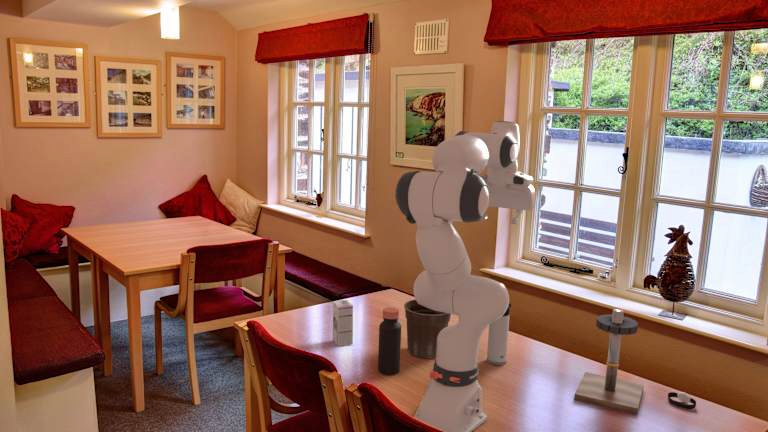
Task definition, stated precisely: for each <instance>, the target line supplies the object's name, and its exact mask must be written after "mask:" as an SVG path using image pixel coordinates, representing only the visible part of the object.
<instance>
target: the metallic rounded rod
mask: <svg viewBox="0 0 768 432" xmlns="http://www.w3.org/2000/svg"><path fill="white" fill-rule="evenodd" d="M624 313H625V311H624V310H622V309H617V308H614V309H613V310H612V322H614V323H623V316H625V315H624ZM621 340H622V335H620V334H613V333H609V343H608V351H607V353H608V354H607V360H606V371H605V376H606V379H605V390H607V391H615V389H616V380H617V379H618V368H619V366H620V361H619V360H620V351H621V342H622V341H621Z"/></svg>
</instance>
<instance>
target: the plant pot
mask: <svg viewBox="0 0 768 432" xmlns="http://www.w3.org/2000/svg"><path fill="white" fill-rule="evenodd" d="M403 308H404V310H405V311H404V312H405V313H404V315H405V319H406V337H407V338H406V341H407V343H406V344H407V345H406V346H407V351H408V353H409V354H410V355H411V356H413V357H415V358H419V359H430V358H432V359H436V348H437V337H438V334H439V333H440V331H441V330H442V329H444V328H445V327H448V326H449V322H450V321H451V315H452V314H449V313H444V312H439V311H434V310H431V309H429V308H426V307H424V306H422V305H420V304H418V303H417V301H416V299H415V298H414V299H411V300H409V301H406V302H404V304H403Z"/></svg>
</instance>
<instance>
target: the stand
mask: <svg viewBox="0 0 768 432" xmlns="http://www.w3.org/2000/svg"><path fill="white" fill-rule="evenodd" d="M605 379H606V375H601V374H595V373H592V372H587V371H585V372H584V374H583V376H582V378H581V380H580V382H579V384H578V386H577V388H576V390H575V392H574V394H573V395H574V396H573V401H576V402H580V403H585V404H588V405H593V406H596V407H602V408H606V409H610V410H614V411H618V412H621V411H623V412H622V413H627V414H631V415H635V416H637V415H638V413H639V408H640V404H641V401H642V397H643V393H644V388H645V384H642V383H637V382H634V381H628V380H625V379H619V378H617V380H616V389H615V391H607V390H605Z"/></svg>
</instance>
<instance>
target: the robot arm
mask: <svg viewBox="0 0 768 432" xmlns="http://www.w3.org/2000/svg"><path fill="white" fill-rule="evenodd" d="M519 154H520V127H519V125H518V124H517V123H516V122H513V121H505V120H498V121H494V122H493V123H492V125H491V131H490V132H489V133H488V132H486V133H485V132H473V131H465V130H460V131H458V132H457V133H456V134H455V135H453V136H450V137H449V138H446V139H445V140H443V141H441V142H440V143H439V144H438V145H436V147H435V148H434V150H433V152H432V157H431V164H432V167H433V170H435V171H419V170H414V171H408V172H405V173H403V174H402V175H401V176H400V177H399V179H398V181H397V183H396V187H395V195H394V196H395V202H396V205H397V206H398V208H399V210H400V212H401V214H403V215H404V216H405V219H406V221H407V222H408V223H409V224H411V225H414V224H417V231H416V233H415V243H416V250H417V254H418V256H419V259H420V262H421V264H422V266H423V268H424V270H422V272H421V273H419V274H418V276H417V277H416V279H415V281H414V283H413V291H412V292H413V295H414V300H415V299H416V301H417V303H418V304H420V305H422V306H424V307H426V308H429V309H431V310H434V311H439V312H444V313H449V314H451V315H453V316H454V315H455V316H457V317H458V322H457V323H454V324H450V325H448V327H445V328H444V329H442V330H441V331H440V333H439V334H438V337H437V348H436V358H435V359H434V363H433V365H432V370H430V372H429V378H430V380H429V382H428V384H427V387H426V390H425V391H424V395H423V398H422V400H421V401H420V404H419V405H418V407H417V410H416V412H415V413H414V415H413V417H415V418H417V419H419V420H421V421H422V422H424V423H427V424H429V425H431V426H434V427H436V428H438V429H441V430H443V431H445V432H473V431H475V430H476V429H477V428H479V427H480V426H481V425H483V424H484V423H485V422H486V421H487V420H488V416H487V414H486V413H485V412H483V388H482V386H481V385H480V383H479V381H478V378H479V372H480V371H479V370H480V369H479V364H478V355H479V348H480V342H481V338H482V335H483V334H484V332H485V330H486V329H487V327H489V325H490V324H491V323H492V322H494V321H495V320H498V319H499V318H501V317H502V316H503V315H504V313H505V312H506V310H507V308H508V305H509V303H510V294H509V292H508V289H507V287H506V285H505V284H504V283H502V282H500V281H497V280H495V279H492V278H489V277H486V276H481V275H479V276H478V275H475V274H474V275H473V274H471V272H472V262H471V260H470V257H469V254H468V252H467V249H466V246H465V244H464V242H463V239H462V238H461V236H460V234H459V233H458V231H457V229H456V228H455V227H454V225H453V222H463V223H474V222H475V223H476V222H480V221H487V220H488V217H489V215H488V213H487V211H488V210H487V209H488V208H489V207H490V208H491V207H492V208H501V209H510V210H515V213H516V214H515V216H514V217H511V222H510V223H511V224H512V225H518V223H519V222H518V221H519V218H520V216H521V214H522V213H523V211H529V212H530V211H532V210H533V209H534V208H535V206H536V192H535V187H534V186H533V185H532V184H533V182H534V178H533V176H532V175H528V174H527V173H524V172H522V171H520V170H518V169H519V164H518V159H519ZM485 169H487V172H486V174H481V173H483V172H484V170H485Z"/></svg>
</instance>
